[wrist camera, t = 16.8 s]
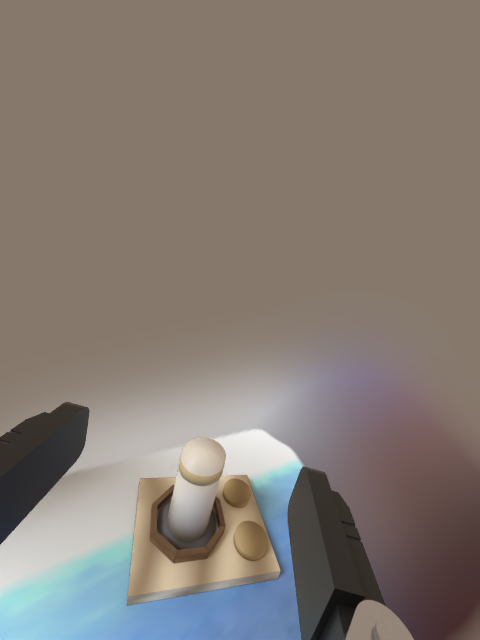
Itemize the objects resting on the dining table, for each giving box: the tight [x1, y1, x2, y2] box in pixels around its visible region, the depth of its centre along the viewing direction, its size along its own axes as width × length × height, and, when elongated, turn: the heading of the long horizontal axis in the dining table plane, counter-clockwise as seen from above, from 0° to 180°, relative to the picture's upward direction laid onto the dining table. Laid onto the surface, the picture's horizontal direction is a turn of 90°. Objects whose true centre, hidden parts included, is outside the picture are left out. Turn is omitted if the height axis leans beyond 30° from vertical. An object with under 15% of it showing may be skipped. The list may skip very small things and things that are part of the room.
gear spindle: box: [167, 437, 226, 543], centre depth 31 cm, size 5×5×10 cm
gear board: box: [127, 475, 281, 605], centre depth 33 cm, size 16×13×2 cm
